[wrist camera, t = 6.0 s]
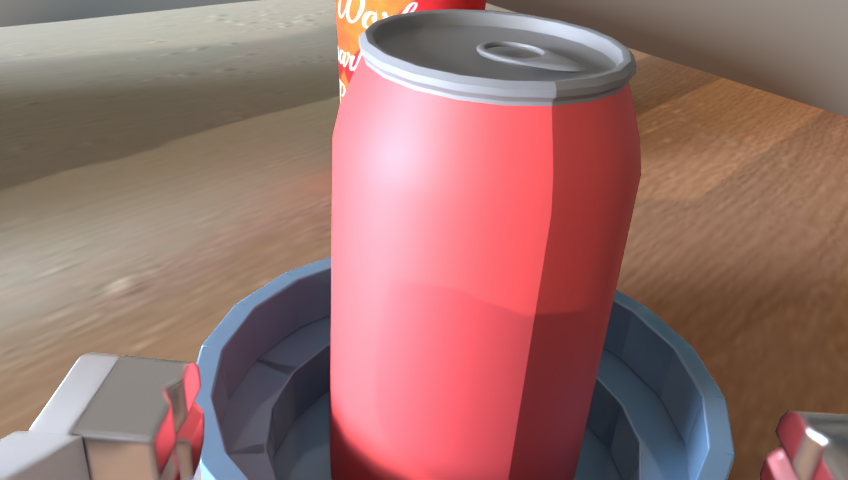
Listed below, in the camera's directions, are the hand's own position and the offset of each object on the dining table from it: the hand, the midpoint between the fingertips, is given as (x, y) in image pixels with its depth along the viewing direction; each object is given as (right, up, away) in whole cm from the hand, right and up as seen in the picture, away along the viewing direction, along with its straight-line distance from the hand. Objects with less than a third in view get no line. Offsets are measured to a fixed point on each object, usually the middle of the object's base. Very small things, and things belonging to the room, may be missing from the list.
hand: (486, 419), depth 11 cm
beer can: (0, -4, +11) cm, 11 cm away
